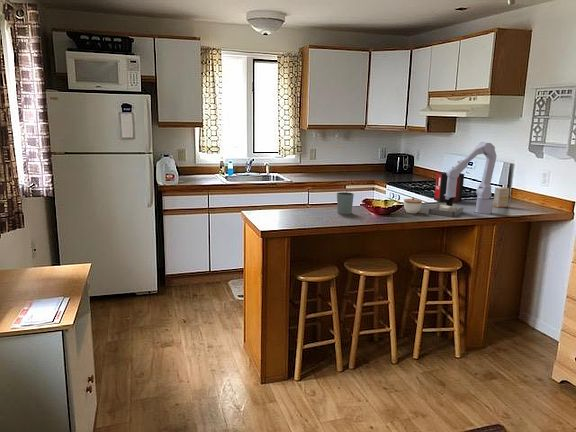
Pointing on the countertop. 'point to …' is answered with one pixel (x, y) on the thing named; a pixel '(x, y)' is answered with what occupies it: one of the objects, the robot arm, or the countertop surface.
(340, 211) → the grey cup
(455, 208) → the t block
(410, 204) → the lidded jar
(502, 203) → the supplement box
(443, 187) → the cleaning product box
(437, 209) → the bay
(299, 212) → the countertop surface
